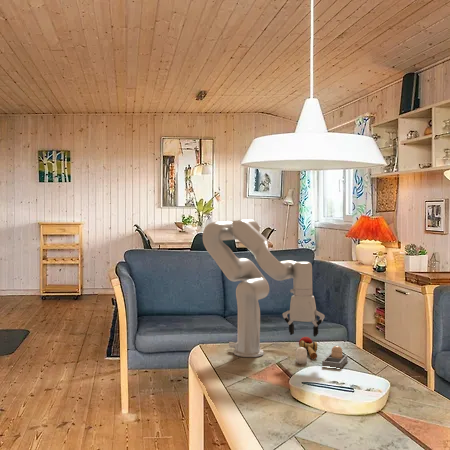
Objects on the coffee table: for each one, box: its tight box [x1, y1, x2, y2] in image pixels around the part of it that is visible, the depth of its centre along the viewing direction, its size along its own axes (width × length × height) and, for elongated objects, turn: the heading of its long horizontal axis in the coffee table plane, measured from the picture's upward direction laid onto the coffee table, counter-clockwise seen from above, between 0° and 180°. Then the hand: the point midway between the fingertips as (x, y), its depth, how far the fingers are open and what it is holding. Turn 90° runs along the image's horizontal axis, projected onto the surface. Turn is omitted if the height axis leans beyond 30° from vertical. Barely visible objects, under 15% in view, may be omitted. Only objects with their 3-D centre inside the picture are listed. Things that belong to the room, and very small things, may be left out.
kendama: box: [298, 336, 318, 360], centre depth 258 cm, size 8×6×18 cm
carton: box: [321, 345, 348, 369], centre depth 242 cm, size 7×13×7 cm, turn 156°
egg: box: [295, 346, 308, 365], centre depth 244 cm, size 4×4×6 cm
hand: (303, 335), depth 243 cm, fingers open, 9 cm apart
